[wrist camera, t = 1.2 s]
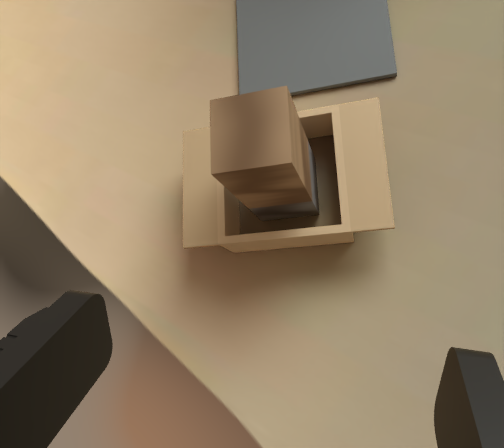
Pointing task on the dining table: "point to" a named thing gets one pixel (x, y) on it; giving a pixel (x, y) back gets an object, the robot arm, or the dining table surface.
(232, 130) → the walnut box
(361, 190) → the light wood hollow frame
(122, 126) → the dining table surface
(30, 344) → the robot arm
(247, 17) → the rubber mat
